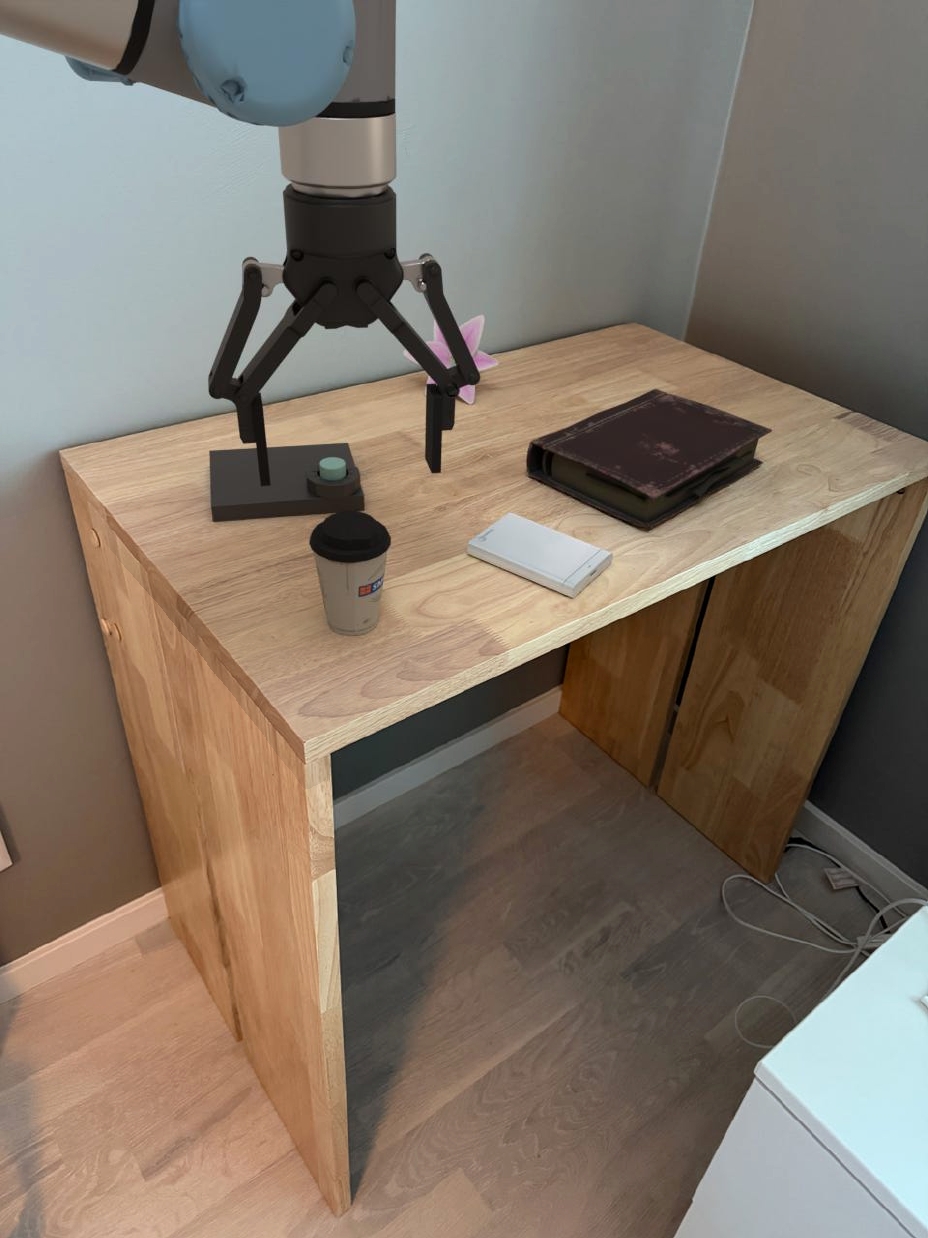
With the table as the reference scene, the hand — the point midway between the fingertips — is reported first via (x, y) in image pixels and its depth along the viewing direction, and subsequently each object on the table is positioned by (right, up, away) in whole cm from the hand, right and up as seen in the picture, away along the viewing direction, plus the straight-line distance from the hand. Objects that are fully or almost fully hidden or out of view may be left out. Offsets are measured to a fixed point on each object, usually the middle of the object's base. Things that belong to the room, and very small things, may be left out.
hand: (350, 472), depth 71 cm
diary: (+32, +6, +36) cm, 48 cm away
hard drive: (+17, -6, +19) cm, 26 cm away
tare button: (-5, +4, +24) cm, 25 cm away
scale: (-11, +3, +28) cm, 30 cm away
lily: (+7, +20, +53) cm, 57 cm away
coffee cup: (-1, -12, +9) cm, 15 cm away
